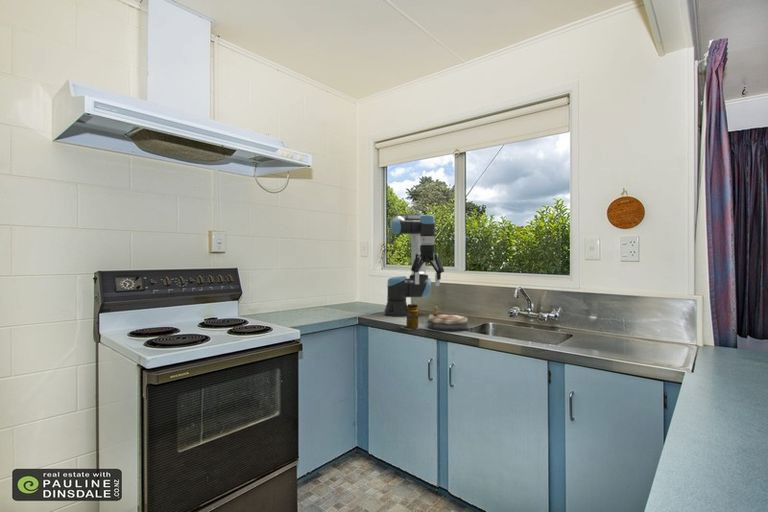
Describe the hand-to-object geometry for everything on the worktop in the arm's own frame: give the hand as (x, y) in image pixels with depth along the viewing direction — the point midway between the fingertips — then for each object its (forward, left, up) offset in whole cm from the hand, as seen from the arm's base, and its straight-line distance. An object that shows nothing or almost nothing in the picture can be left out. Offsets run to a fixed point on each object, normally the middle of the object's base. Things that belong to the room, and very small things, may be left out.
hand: (426, 285), depth 207 cm
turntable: (+4, +10, -18) cm, 21 cm away
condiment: (+2, -9, -22) cm, 24 cm away
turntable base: (+4, +10, -22) cm, 24 cm away
